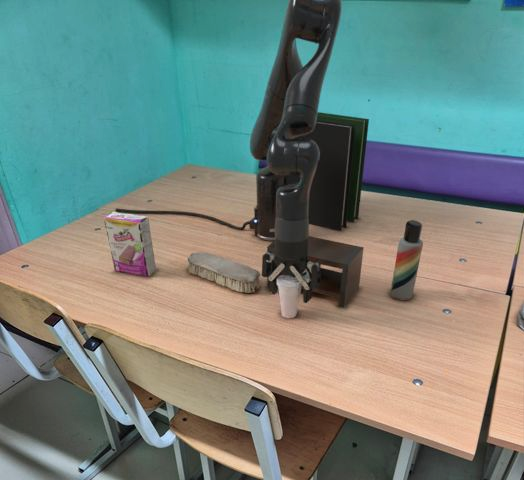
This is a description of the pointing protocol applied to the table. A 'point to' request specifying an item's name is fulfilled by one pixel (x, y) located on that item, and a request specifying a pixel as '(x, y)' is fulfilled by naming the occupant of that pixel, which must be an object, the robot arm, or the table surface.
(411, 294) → the lotion bottle
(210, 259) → the shoe brush
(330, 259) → the box
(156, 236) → the table surface
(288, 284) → the smoothie
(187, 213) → the robot arm
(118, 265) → the candy bar box
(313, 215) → the binder
